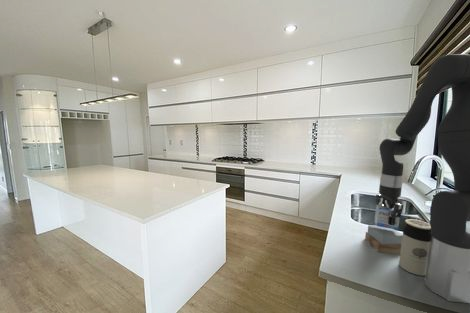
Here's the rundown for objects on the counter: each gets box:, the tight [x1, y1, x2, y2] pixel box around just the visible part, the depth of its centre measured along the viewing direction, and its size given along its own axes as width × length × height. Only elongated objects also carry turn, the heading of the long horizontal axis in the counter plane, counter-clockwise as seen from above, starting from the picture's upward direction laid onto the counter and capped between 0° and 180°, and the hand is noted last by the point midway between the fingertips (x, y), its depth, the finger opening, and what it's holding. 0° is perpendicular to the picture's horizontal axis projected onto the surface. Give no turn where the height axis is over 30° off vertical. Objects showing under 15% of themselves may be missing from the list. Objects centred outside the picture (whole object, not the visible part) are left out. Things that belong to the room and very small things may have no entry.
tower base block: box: [364, 231, 401, 254], centre depth 87 cm, size 10×10×4 cm
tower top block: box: [367, 224, 403, 244], centre depth 87 cm, size 9×9×4 cm
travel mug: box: [398, 218, 432, 276], centre depth 72 cm, size 8×8×18 cm
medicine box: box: [374, 204, 401, 231], centre depth 86 cm, size 8×4×9 cm, turn 63°
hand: (386, 221), depth 86 cm, fingers closed on medicine box, 5 cm apart
